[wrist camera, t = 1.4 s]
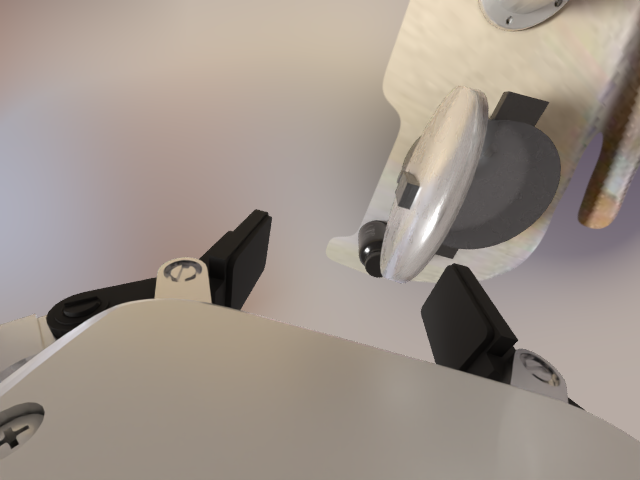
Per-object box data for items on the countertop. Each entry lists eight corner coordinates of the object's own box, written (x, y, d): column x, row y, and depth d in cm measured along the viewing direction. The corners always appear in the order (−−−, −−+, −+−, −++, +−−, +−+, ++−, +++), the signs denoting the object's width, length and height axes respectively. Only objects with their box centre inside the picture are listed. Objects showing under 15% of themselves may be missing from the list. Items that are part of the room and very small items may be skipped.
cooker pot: (434, 84, 38) (462, 75, 28) (545, 114, 38) (616, 116, 28) (381, 217, 50) (387, 246, 40) (466, 240, 50) (495, 275, 39)
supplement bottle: (358, 248, 54) (358, 282, 44) (358, 220, 51) (358, 249, 41) (390, 248, 53) (398, 283, 43) (392, 219, 50) (401, 249, 39)
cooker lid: (449, 97, 29) (426, 91, 29) (537, 76, 12) (484, 63, 13) (390, 234, 38) (373, 228, 38) (395, 325, 22) (366, 315, 22)
